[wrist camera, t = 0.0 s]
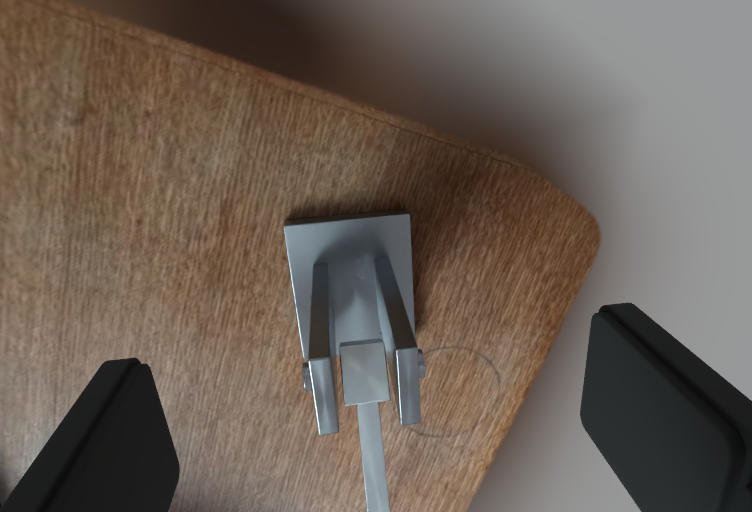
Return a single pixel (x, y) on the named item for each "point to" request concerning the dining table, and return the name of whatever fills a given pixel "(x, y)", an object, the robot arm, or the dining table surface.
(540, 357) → the dining table surface
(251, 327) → the dining table surface
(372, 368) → the tap lever
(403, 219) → the tap bracket
